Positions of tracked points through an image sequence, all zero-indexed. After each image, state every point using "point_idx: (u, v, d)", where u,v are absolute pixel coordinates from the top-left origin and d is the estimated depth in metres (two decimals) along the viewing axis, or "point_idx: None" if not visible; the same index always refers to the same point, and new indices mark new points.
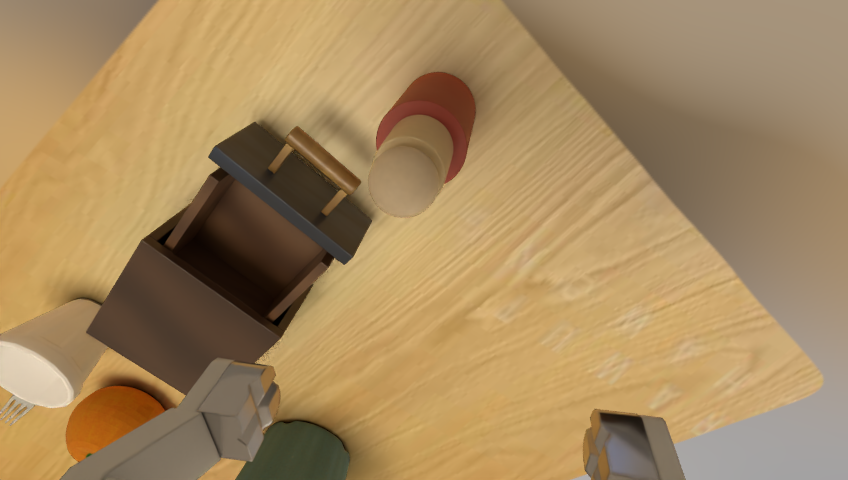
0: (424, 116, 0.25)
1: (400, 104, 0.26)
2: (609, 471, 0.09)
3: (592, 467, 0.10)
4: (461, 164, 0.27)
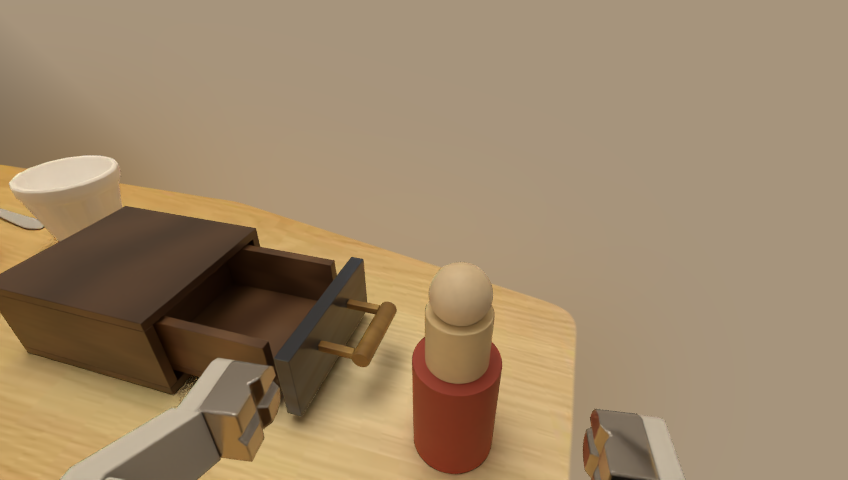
0: None
1: None
2: (609, 471, 0.09)
3: (592, 467, 0.10)
4: (463, 394, 0.25)
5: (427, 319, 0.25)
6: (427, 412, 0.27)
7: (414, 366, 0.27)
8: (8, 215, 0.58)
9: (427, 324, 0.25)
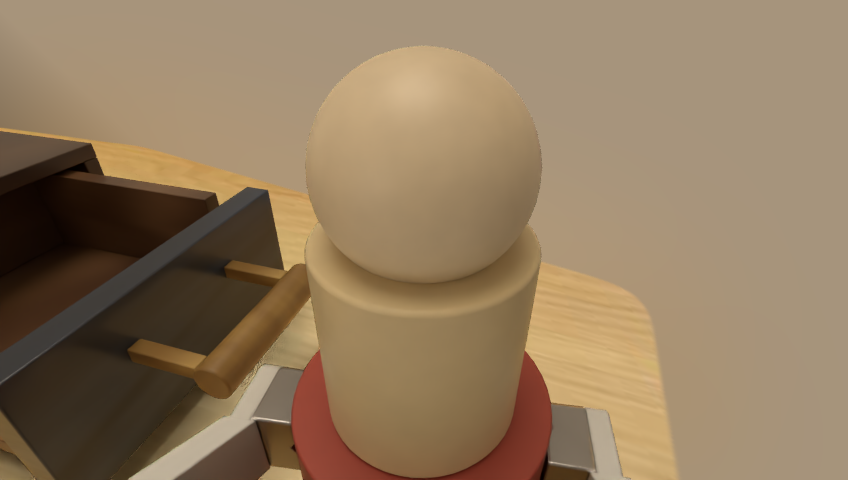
0: None
1: None
2: (548, 462, 0.09)
3: None
4: None
5: (306, 262, 0.07)
6: None
7: (294, 414, 0.09)
8: None
9: (309, 280, 0.07)
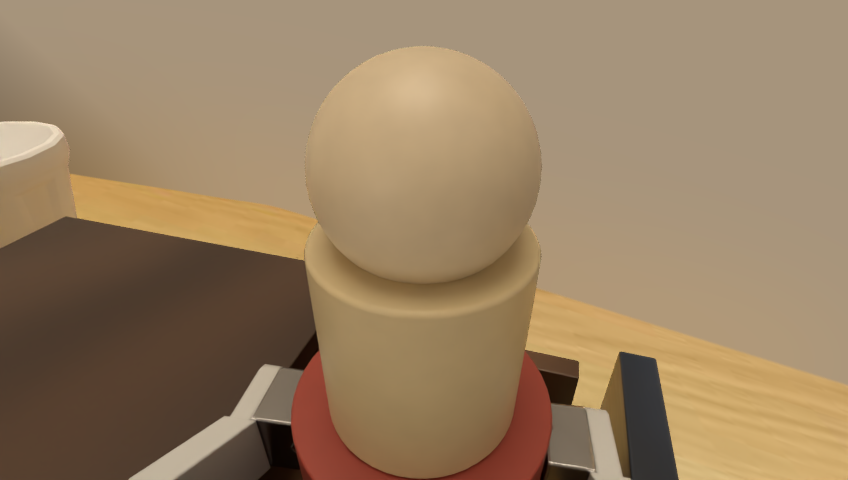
0: None
1: None
2: (547, 462, 0.09)
3: None
4: None
5: (306, 262, 0.07)
6: None
7: (294, 415, 0.09)
8: None
9: (308, 281, 0.07)
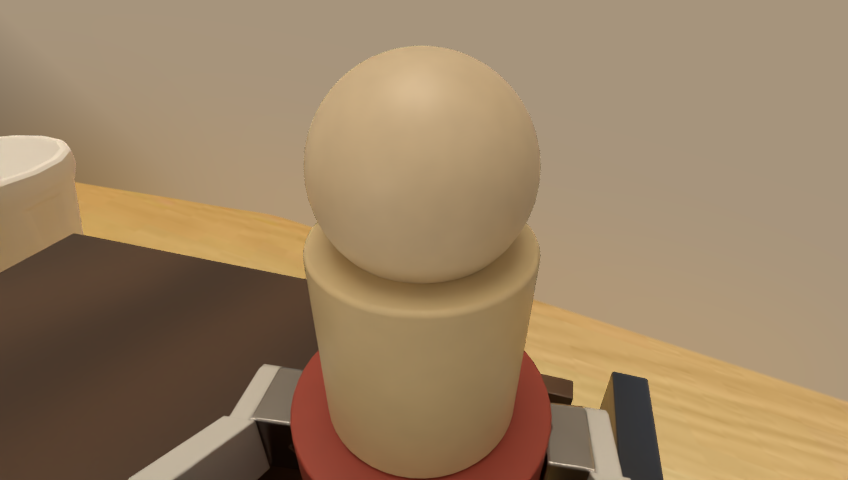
0: None
1: None
2: (547, 461, 0.09)
3: None
4: None
5: (304, 262, 0.07)
6: None
7: (293, 414, 0.09)
8: None
9: (307, 281, 0.07)
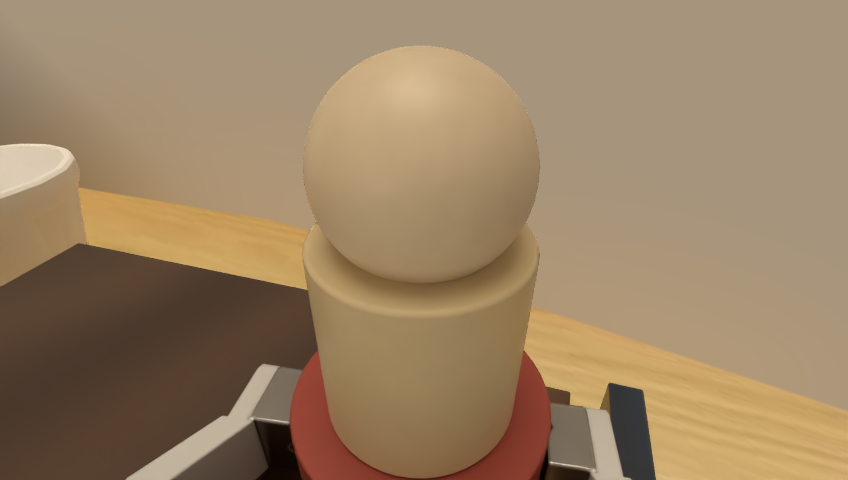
0: None
1: None
2: (548, 462, 0.09)
3: None
4: None
5: (304, 262, 0.07)
6: None
7: (293, 414, 0.09)
8: None
9: (307, 281, 0.07)
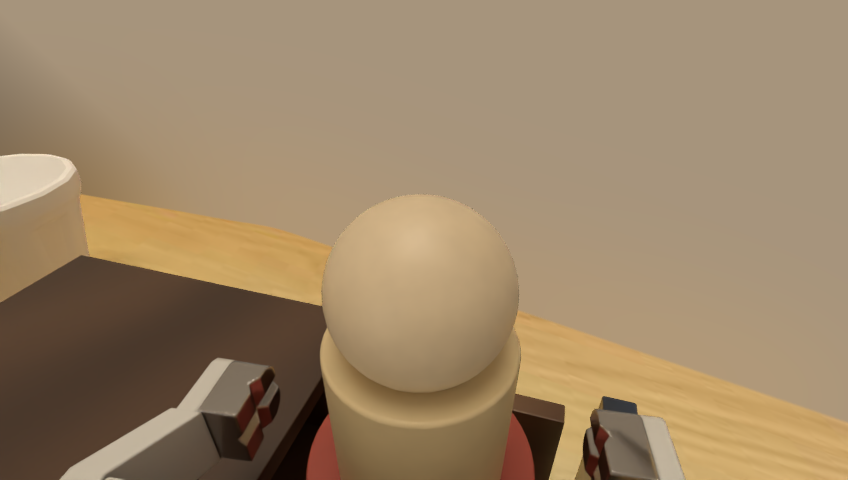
0: None
1: None
2: (609, 471, 0.09)
3: (592, 467, 0.10)
4: None
5: (321, 367, 0.08)
6: None
7: (309, 479, 0.10)
8: None
9: (323, 380, 0.09)
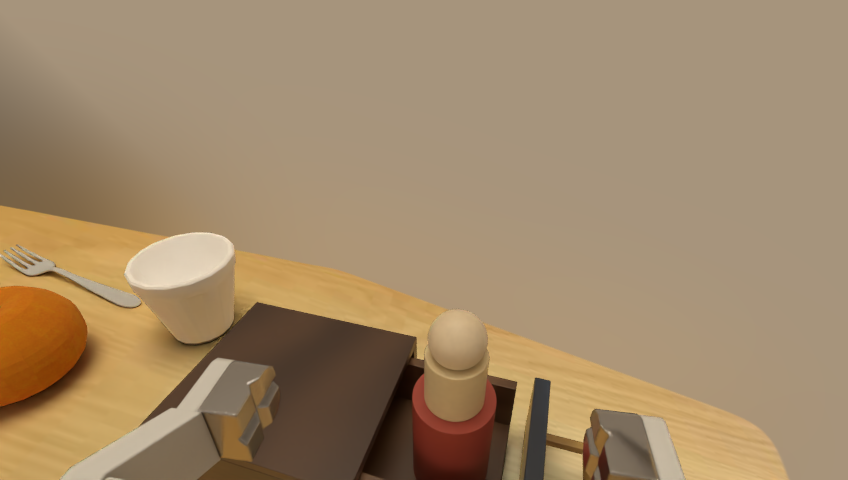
0: None
1: None
2: (609, 471, 0.09)
3: (592, 467, 0.10)
4: (460, 432, 0.27)
5: (426, 362, 0.27)
6: (425, 447, 0.29)
7: (414, 403, 0.29)
8: (99, 289, 0.54)
9: (426, 367, 0.27)
